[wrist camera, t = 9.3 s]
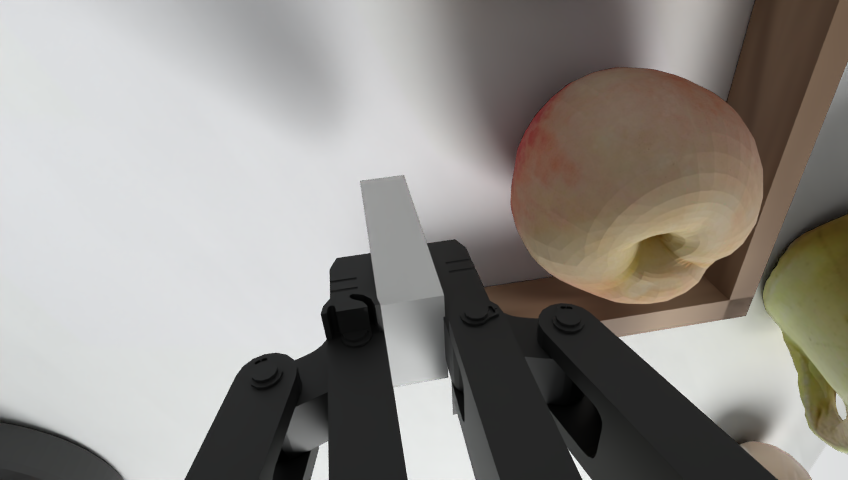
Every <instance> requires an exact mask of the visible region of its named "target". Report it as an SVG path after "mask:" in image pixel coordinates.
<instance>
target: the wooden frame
mask: <svg viewBox="0 0 848 480" xmlns="http://www.w3.org/2000/svg"><path fill="white" fill-rule="evenodd" d="M847 62H848V0H755V3H754V7H753V11H752V14H751V18H750V21H749V25H748V28H747V32H746V36H745V39H744V43H743V46H742V50H741V53H740V57H739V60H738V64H737V68H736V71H735V75H734V78H733V82H732V85H731V89H730V93H729V96H728V100H727V103H728V104H729V105H730V106H731V107H732V108H733V109H734V110H735V111H736V112H737V113H738V114H739V116H740V117H741V119H742V120H743V122H744V123H745V125H746V126H747V128H748V129H749V131H750V133H751V134H752V136H753V138H754V140H755V143H756V146H757V150H758V153H759V157H760V160H761V164H762V168H763V199H762V203H761V207H760V211H759V214H758V218H757V222H756V224H755V226H754V228H753V229H752V231H751V232H750V234H749V235H748V237H747V238H746V240H745V241H744V243H743V244H742V245H741V246H740V247H739V248H738V249H736V250H735V251H734V252H733V253H732V254H730V255H728V256H726V257H723V258H721V259H719V260H716V261H715V262H714V263H713V264H711V265H710V266H709V267H708V268H707V269H706V271H705V273H704V274H703V276H702V278H701V279H700V281H699V282H698V283H697V284H696V285H695V286H693V287H692V288H691V289H690V290H688V291H687V292H686V293H684V294H681V295H679V296H677V297H675V298H672V299H670V300H668V301H664V302H657V303H651V304H627V303H619V302H614V301H611V300H608V299H605V298H602V297H599V296H596V295H594V294H591V293H589V292H586V291H584V290H581V289H579V288H576V287H574V286H572V285H570V284H568V283H565V282H563V281H561V280H559V279H558V278H556V277H549V278H542V279H536V280H529V281H522V282H516V283H509V284H503V285H496V286H489V287H484V289H485V291H486V293H487V295H488V297H489V300H490V301H491V302H493V303H495V304H497V305H498V306H499V307H500V308H501V310H502V311H503V313H505V314H508V315H512V316H516V317H525V318H539V315H540V313H541V312H542V310H543V309H545V308H546V307H548V306H550V305H554V304H559V303H565V304H573V305H576V306H580V307H582V308H584V309H585V310H587V311H589V312H590V313H592V314H593V315H594V316H595V317H596V318H597V319H598V320H599V321H600V322H602V323H603V324H604V325H605V326H606V327H607V328H608V329H609V330H611V331H612V332H613V333H614V334H615V335H616V336H617V337H621V336H627V335H633V334H639V333H645V332H651V331H657V330H663V329H669V328H675V327H681V326H688V325H694V324H700V323H706V322H712V321H718V320H724V319H730V318H736V317H742V316H746V314H747V312H748V309H749V307H750V304H751V302H752V299H753V297H754V294H755V292H756V289H757V287H758V284H759V282H760V279H761V277H762V274H763V272H764V269H765V267H766V264H767V262H768V259H769V257H770V254H771V252H772V249H773V247H774V244H775V242H776V239H777V237H778V234H779V232H780V229H781V227H782V224H783V222H784V219H785V217H786V214H787V212H788V209H789V207H790V204H791V202H792V199H793V197H794V194H795V192H796V189H797V187H798V184H799V182H800V179H801V177H802V174H803V172H804V169H805V167H806V164H807V162H808V159H809V157H810V154H811V152H812V149H813V147H814V144H815V142H816V139H817V137H818V134H819V132H820V129H821V127H822V124H823V122H824V119H825V117H826V114H827V112H828V109H829V107H830V104H831V102H832V99H833V97H834V94H835V92H836V89H837V87H838V84H839V82H840V79H841V77H842V74H843V72H844V69H845V67H846V64H847Z"/></svg>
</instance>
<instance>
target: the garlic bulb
mask: <svg viewBox="0 0 848 480" xmlns="http://www.w3.org/2000/svg"><path fill="white" fill-rule="evenodd" d="M739 445H740V446H741V447H742V448H743V449H744V450H745V451H747V452H748V453H749V454H750V455H751V456H752V457H753V458H754V459H755V460H757V461H758V462H759V463H760V464H761V465H762V466H763V467H764V468H766V469H767V470H768V471H769V472H770V473H771V474H772V475H773V476H775V477H776V478H777V479H778V480H812V479H811V477H810V475H809V474H808V472H807V471H806V470H805V469H804V468H803V467H802V465H801V464H800V463H799V462H797V461H796V460H795V459H794V458H793V457H792V456H791V455H790V454H788V453H786V452H785V451H783V450H781V449H779V448H778V447H775V446H773V445H770V444H766V443H761V442H755V441H750V442H745V443H742V444H739Z"/></svg>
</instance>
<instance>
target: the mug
mask: <svg viewBox="0 0 848 480" xmlns="http://www.w3.org/2000/svg"><path fill="white" fill-rule="evenodd" d="M763 301H764V305H765V309H766V311H767V312H768V314H769V315H770V316H771V317H772V318H773V320H774V321H775V322H776V323H777V324H778V326H779V327H780V328H781V330H782V334H783V338H784V341H785V343H786V345H787V347H788V349H789V351H790V354H791V357H792V359H793V362H794V365H795V368H796V370H797V372H798V386H799V392H800V397H801V400H802V403H803V405H804V408H805V417H806V419H807V422H808V425H809V428H810V429H811V430H812V431H813V433H814V434H815V435H817V436H818V437H819V438H820V439H821V440H822V441H824V442H825V443H827V444H828V445H829V446H831V447H832V448H834V449H835V450H837V451H840V452H843V453H845V454H848V214H847V215H844V216H842V217H839V218H837V219H835V220H832V221H830V222H828V223H825V224H823V225H821V226H818V227H816V228H815V229H813V230H810V231H808V232H806V233H804V234H802V235H801V236H800V237H798V238H797V239H795V240H794V241H793V242H792V243H791V244H790V245H789V247H788V249H787V250H786V252H785V253H784V254H783V255H782V256H781V257H780V258H779V261H778V264H777V266H776V267H775V268H774V270H773V271H772V272H771V275H770V277H769V278H768V279H767V281H766V284H765V287H764V291H763ZM836 393H837V394H838V395H839V396H840V397H841V398H842V399H843V402H844V404H845V406H846V413H847V416H846V419H845V420H842V419H841V417H840V416H839V415H838V412H837V408H836Z"/></svg>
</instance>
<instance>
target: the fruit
mask: <svg viewBox="0 0 848 480" xmlns="http://www.w3.org/2000/svg"><path fill="white" fill-rule="evenodd" d="M762 199H763V168H762V164H761V160H760V157H759V153H758V150H757V146H756V143H755V140H754V138H753V136H752V134H751V133H750V131H749V129H748V128H747V126H746V125H745V123H744V122H743V120H742V119H741V117H740V116H739V114H738V113H737V112H736V111H735V110H734V109H733V108H732V107H731V106H730V105H729V104H728V103H726V102H725V101H724V100H722V99H721V98H720V97H719V96H717V95H716V94H715V93H713V92H711V91H709V90H707V89H705V88H703V87H701V86H699V85H697V84H695V83H693V82H691V81H689V80H687V79H684V78H682V77H679V76H676V75H673V74H669V73H666V72H662V71H658V70H654V69H644V68H628V67H615V68H610V69H606V70H601V71H597V72H593V73H591V74H588V75H586V76H584V77H582V78H580V79H578V80H576V81H574V82H571V83H569V84H568V85H566V86H565V87H564V88H563V89H561V90H560V91H559V92H558V93H557V94H555V95H554V96H553V97H552V98H551V99H550V100H549V101H548V102H547V103H546V104H545V105H544V106H543V107H542V108H541V109H540V111H539V112H538V113H537V114H536V115H535V117H534V118H533V120H532V121H531V123H530V125H529V126H528V128H527V129H526V131H525V133H524V135H523V137H522V140H521V142H520V144H519V147H518V149H517V155H516V161H515V168H514V174H513V179H512V186H511V210H512V214H513V218H514V222H515V225H516V228H517V231H518V233H519V235H520V237H521V239H522V241H523V243H524V244H525V246H526V248H527V250H528V251H529V253H530V255H531V256H532V257H533V258H534V259H535V261H536V262H537V263H538V264H539V265H541V266H542V267H543V268H544V269H545V270H546V271H547V272H548V273H550V274H551V275H553V276H554V277H556V278H558V279H559V280H561V281H563V282H565V283H568V284H570V285H572V286H574V287H576V288H579V289H581V290H584V291H586V292H589V293H591V294H594V295H596V296H599V297H602V298H605V299H608V300H611V301H614V302H619V303H627V304H651V303H657V302H664V301H668V300H670V299H672V298H675V297H677V296H679V295H681V294H684V293H686V292H687V291H688V290H690V289H691V288H692V287H693V286H695V285H696V284H697V283H698V282H699V281H700V279H701V278H702V276H703V274H704V273H705V271H706V269H707V268H708V267H709V266H710V265H711V264H713V263H714V262H715V261H716V260H719V259H721V258H723V257H726V256H728V255H730V254H732V253H733V252H734V251H735V250H736V249H738V248H739V247H740V246H741V245H742V244H743V243H744V241H745V240H746V238H747V237H748V235H749V234H750V232H751V231H752V229H753V228H754V226H755V224H756V222H757V218H758V214H759V211H760V207H761V203H762Z"/></svg>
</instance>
